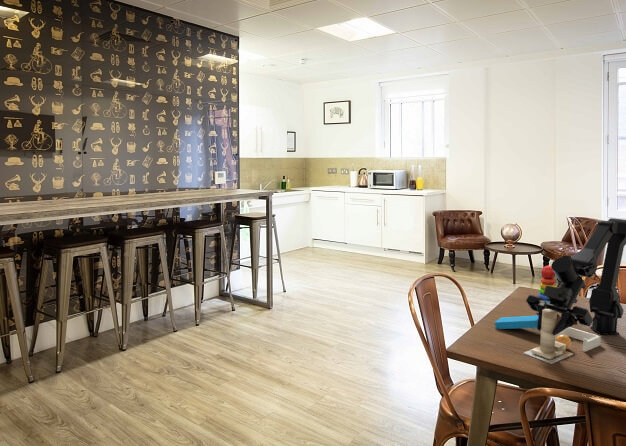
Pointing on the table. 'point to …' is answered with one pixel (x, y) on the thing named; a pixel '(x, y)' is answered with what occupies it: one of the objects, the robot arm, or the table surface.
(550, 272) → the stacking toy
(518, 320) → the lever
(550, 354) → the beige peg stand
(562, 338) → the ball
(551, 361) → the grey rectangular plate
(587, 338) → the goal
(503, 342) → the table surface
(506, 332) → the table surface
